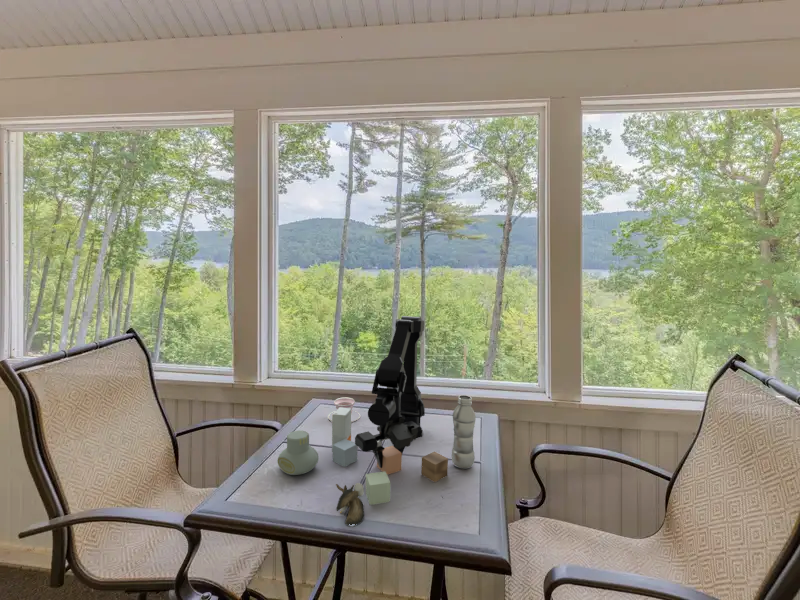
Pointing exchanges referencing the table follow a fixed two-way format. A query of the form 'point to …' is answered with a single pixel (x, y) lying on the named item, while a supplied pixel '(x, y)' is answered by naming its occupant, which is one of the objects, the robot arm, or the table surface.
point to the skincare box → (341, 425)
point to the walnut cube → (434, 466)
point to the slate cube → (344, 452)
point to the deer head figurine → (352, 503)
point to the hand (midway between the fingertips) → (389, 464)
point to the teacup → (344, 405)
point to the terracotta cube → (391, 460)
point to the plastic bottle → (463, 433)
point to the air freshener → (298, 454)
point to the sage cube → (377, 488)
